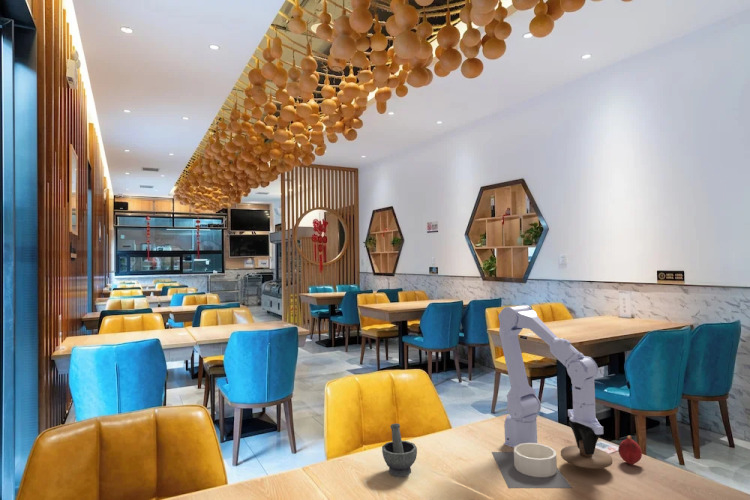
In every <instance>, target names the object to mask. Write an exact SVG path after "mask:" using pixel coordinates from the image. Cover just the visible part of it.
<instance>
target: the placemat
mask: <svg viewBox="0 0 750 500" xmlns="http://www.w3.org/2000/svg"><path fill="white" fill-rule="evenodd" d="M491 454H492V456H493V459H494V461H495V463H496V465H497V467H498V469H499V471H500V473H501V475H502V477H503V479H504V481H505V483H506V486H507V488H508V489H573V487H572V485H571V484H570V483H569V481H568V480H567V478H565V476H564V474H562V472H561V471H560V470H559V468H558V467H557V473H556V474H555V475H553V476H551V477H545V478H538V477H531V476H527V475H524V474H522V473H520V472H518V471H517V470H516V468H515V466H514V451H491Z"/></svg>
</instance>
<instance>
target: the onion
mask: <svg viewBox="0 0 750 500" xmlns="http://www.w3.org/2000/svg"><path fill="white" fill-rule="evenodd" d="M642 453H643V451H642V448H641V446H640V445H639V444H638V442H636V441H635V440H634V439H632V436H631V435H627V436H626V439H623V440H622V441H621V442H620V443H619V446H618V454H619V456H620V458H621V459H622V461H624V462H625V463H627V464H628V465H631V466H632V465H635V464H636V463H639V462H640V460H641V459H642V457H643V454H642Z"/></svg>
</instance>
